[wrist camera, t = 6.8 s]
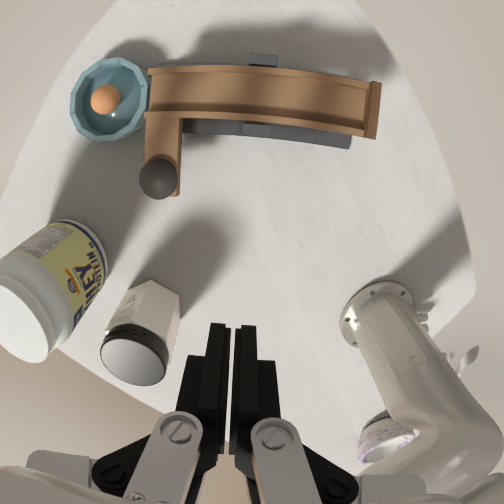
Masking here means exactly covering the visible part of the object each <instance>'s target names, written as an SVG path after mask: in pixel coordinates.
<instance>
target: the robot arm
mask: <svg viewBox="0 0 504 504" xmlns="http://www.w3.org/2000/svg"><path fill="white" fill-rule="evenodd" d="M427 319H428V315H427V314H426V313H420V314H417V313H416V312H415V310H414V309H413V302H412V298H411V295H410V293H409V292H408V291H407V289H406V288H405V287H403V286H402V285H400V284H399V283H396V282H389V281H385V282H379V283H376V284H373V285H370V286H368V287H366V288H364V289H363V290H361V291H360V292H359V293H357V294H356V295H355V296H354V297H353V298H352V299H351V300H350V302H349V303H348V304H347V305H346V307H345V309H344V311H343V313H342V316H341V320H340V330H341V333H342V335H343V337H344V339H345V340H346V342H347V343H348V344H350V345H351V346H354V347H357V348H360V350H361V353H362V355H363V357H364V359H365V361H366V363H367V366H368V368H369V370H370V372H371V374H372V377H373V379H374V381H375V383H376V386H377V388H378V390H379V392H380V395H381V397H382V399H383V402H384V404H385V406H386V409H387V411H388V413H389V415H390V416H391V417H392V419H393V420H394V421H396V422H397V423H399V424H400V425H403V426H405V427H409V428H412V429H417V430H420V431H421V432H420V434H419V435H418V436H417V437H416V438H414V439H413V440H412V441H410V442H409V443H408V444H406V445H405V446H403V447H402V448H400V449H398V450H397V451H395V452H393V453H392V454H390V455H388V456H386V457H385V458H383V459H381V460H379V461H378V462H376V463H374V464H372V465H371V466H369V467H367V468H366V469H364V470H363V471H362V472H361V473H360V474H359V475H358V476H352V475H351V474H350V473H348V472H346V471H345V470H343V469H341V468H340V467H338V466H336V465H335V464H333V463H331V462H330V461H328V460H327V459H325V458H323V457H322V456H320V455H319V454H317V453H316V452H314V451H313V450H311V449H309V448H308V447H306V446H305V445H303V444H302V443H301V439H300V436H299V433H298V431H297V429H296V428H295V426H293V425H292V424H291V423H290V422H288V421H286V420H284V419H281V414H280V404H279V394H278V384H277V374H276V365H275V361H270V360H257V338H256V326H251V325H241V329H237V328H236V330H235V346H234V363H233V380H232V399H231V418H230V439H229V455H235V467H236V468H238V470H240V471H241V472H242V473H243V474H244V478H245V484H246V489H247V495H248V500H249V504H504V474H503V473H494V474H491V475H489V476H487V475H488V474H489V473H490V472H491V471H492V470H493V469H494V467H495V466H496V465H497V463H498V462H499V460H500V458H501V456H502V454H503V450H504V438H503V435H502V432H501V430H500V429H499V427H498V425H497V424H496V423H495V421H494V420H493V419H492V418H491V417H490V416H489V414H488V413H487V412H486V411H485V410H484V409H483V408H482V406H481V405H480V404H479V403H478V402H477V401H476V400H475V398H474V397H473V396H472V395H471V393H470V392H469V391H468V390H467V388H466V387H465V386H464V384H463V383H462V382H461V380H460V379H459V377H458V376H457V374H456V373H455V372H454V370H453V369H452V367H451V366H450V364H449V363H448V361H447V360H446V358H445V357H444V355H443V354H442V353H441V351H440V350H439V348H438V347H437V346H436V344H435V343H434V341H433V340H432V339H431V337H430V336H429V334H428V325H427V324H420V322H425V321H427ZM230 338H231V328H226V324H221V323H211V325H210V331H209V337H208V343H207V348H206V354H205V356H195V355H188V357H187V361H186V365H185V369H184V374H183V378H182V383H181V387H180V392H179V396H178V401H177V405H176V410H175V412H170V413H167V414H165V415H163V416H162V417H161V418H159V420H158V421H157V423H156V425H155V427H154V429H153V431H152V433H151V434H150V435H148V436H146V437H144V438H142V439H140V440H138V441H136V442H134V443H132V444H130V445H128V446H126V447H123V448H121V449H119V450H117V451H115V452H113V453H110V454H108V455H106V456H104V457H102V458H100V459H91V458H90V457H89V456H79V455H71V454H64V453H58V452H52V451H46V450H37V451H34V452H33V453H32V454H31V455H30V456H29V457H28V460H27V465H26V467H19V466H2V467H0V504H198V501H199V498H200V495H201V491H202V488H203V484H204V480H205V477H206V472H207V471H208V470H210V469H211V468H213V467H214V466H216V461H217V460H218V454H224V443H225V426H226V410H227V395H228V379H229V358H230Z"/></svg>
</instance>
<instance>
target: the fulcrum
mask: <svg viewBox="0 0 504 504" xmlns="http://www.w3.org/2000/svg"><path fill="white" fill-rule="evenodd" d="M277 59H278V56H273V55H264V54H254V53H250V57H249V62H248V65H240V64H223V63H162V64H157V67H156V68H159V67H172V66H193V65H238V66H258V67H272V68H276V67H277ZM182 133H200V134H222V135H237V136H250V137H261V138H271V139H280V140H289V141H297V142H304V143H312V144H318V145H325V146H331V147H337V148H343V149H349V145H350V137H351V135H349V134H344V133H338V132H333V131H327V130H321V129H314V128H307V127H300V126H293V125H285V124H276V123H267V122H256V121H244V120H229V119H209V118H183V127H182Z"/></svg>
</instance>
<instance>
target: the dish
mask: <svg viewBox="0 0 504 504" xmlns="http://www.w3.org/2000/svg"><path fill="white" fill-rule="evenodd" d="M103 85H112V86H114V87H116V88H117V89H118V91H119V93H120V103H119V105H118V107H117V108H116V109H115V110H114V111H113V112H111V113H109V114H99V113H97V112H95V111H94V110H93V108H92V106H91V97H92V94H93V93H94V91H95V90H96V89H97V88H99V87H100V86H103ZM150 91H151V79H150V77H149V75H148V74H147V71H146V70H145V69H143V68H141V67H139V66H137V65H135V64H133V63H131V62H129V61H127V60H125V59H123V58H121V57H117V58H109V59H103V60H99V61H98V62H96V63H95V64H93V65H92V66H91V67H89V68H88V69H87V70H85V71H84V72H83V73H82V74H81V76H80V77H79V79H78V81H77V83H76V85H75V86H74V88H73V90H72V92H71V100H70V116H71V118H72V120H73V123H74V125H75V127H76V129H77V131H78V132H79V133H80V134H82V135H83V136H85V137H87V138H88V139H90V140H92V141H93V142H103V141H116V140H122V139H125V138H126V137H128V136H129V135H131V134H133V133H134V132H136V131H137V130H139V129H141V128H142V126H143V125H144V123H145V121H146V118H144V112H149V103H150Z"/></svg>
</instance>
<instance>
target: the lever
mask: <svg viewBox="0 0 504 504" xmlns="http://www.w3.org/2000/svg"><path fill="white" fill-rule="evenodd" d="M147 74H148V75H152V80H151V91H150V103H149V112H144V118H146V125H145V149H144V167H143V168H142V170H141V172H140V185H141V188H142V190H143V191H144V194H146V195H147V196H149V197H150V198H153V199H157V200H160V199H164V198H167V197H168V196H174V197H176V196H178V195H179V194H180V165H181V144H182V127H183V118H209V119H229V120H244V121H256V122H267V123H276V124H285V125H293V126H300V127H307V128H314V129H321V130H327V131H333V132H338V133H344V134H349V135H354V136H359V137H364V138H369V139H376V133H377V125H378V117H379V108H380V98H381V87H382V83H380V82H376V81H372V82H370V83H368V82H364V81H359V80H354V79H349V78H344V77H339V76H334V75H328V74H322V73H315V72H308V71H301V70H292V69H283V68H272V67H258V66H238V65H193V66H172V67H159V68H148V72H147Z"/></svg>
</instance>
